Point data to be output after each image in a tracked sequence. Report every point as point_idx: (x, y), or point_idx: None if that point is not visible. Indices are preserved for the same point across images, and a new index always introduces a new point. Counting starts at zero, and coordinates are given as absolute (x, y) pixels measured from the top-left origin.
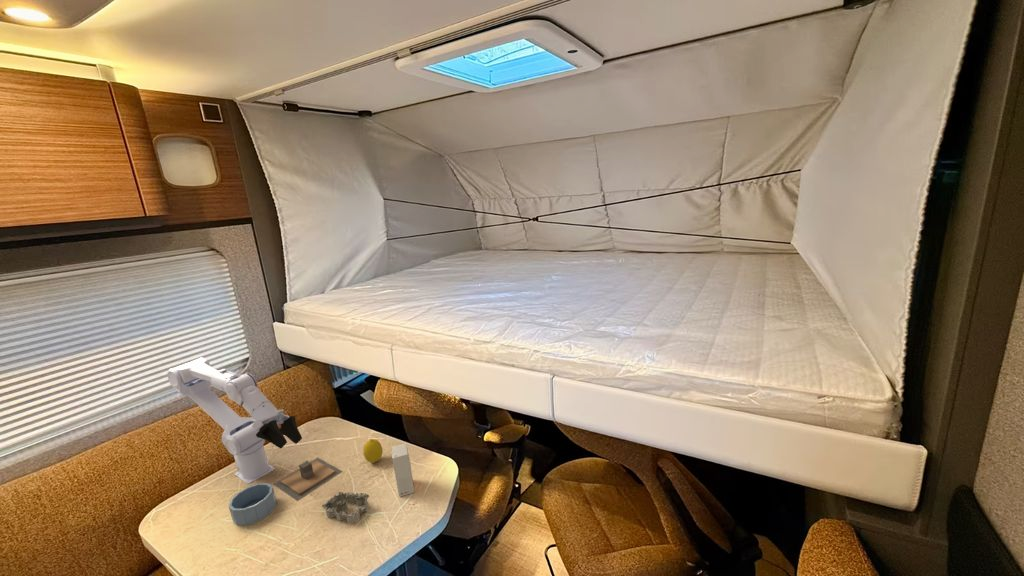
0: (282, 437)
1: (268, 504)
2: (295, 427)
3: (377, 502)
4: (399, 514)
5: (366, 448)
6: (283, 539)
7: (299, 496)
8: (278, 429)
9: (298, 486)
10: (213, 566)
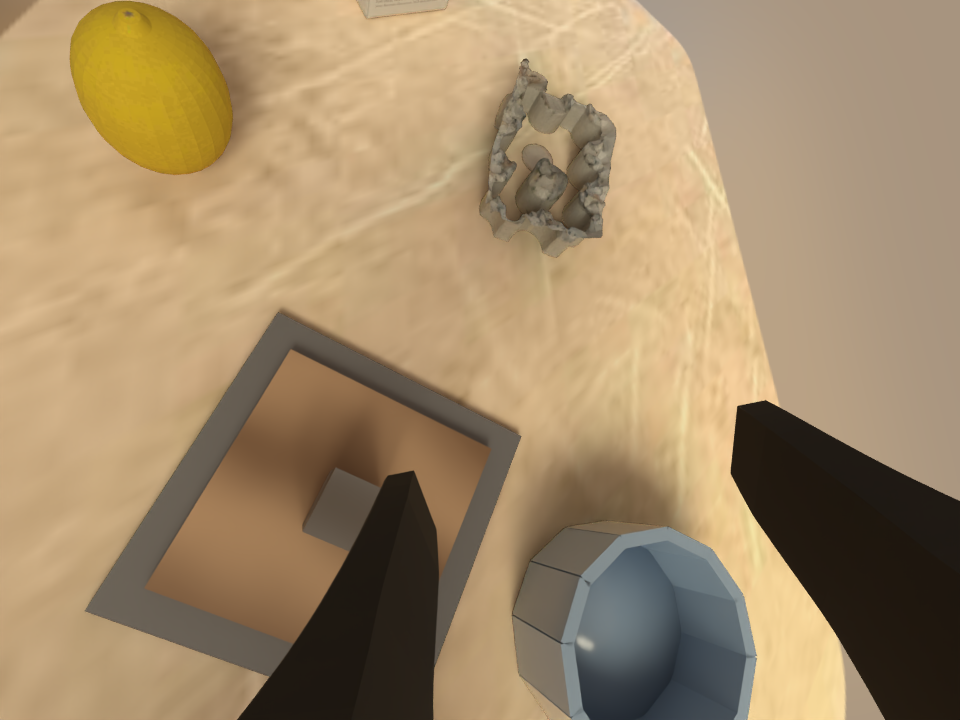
0: (834, 440)
1: (630, 524)
2: (361, 619)
3: (479, 83)
4: (523, 4)
5: (203, 78)
6: (681, 359)
7: (492, 448)
8: (957, 544)
9: (439, 499)
10: None
